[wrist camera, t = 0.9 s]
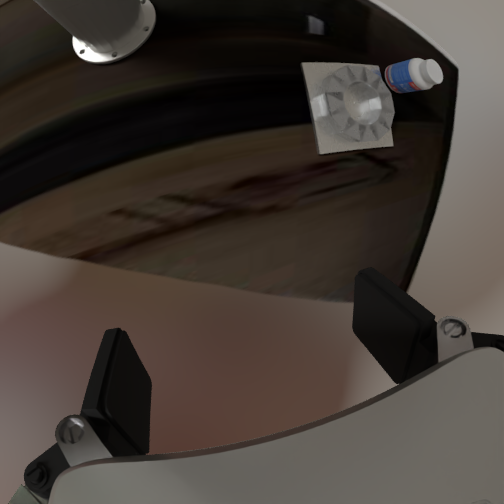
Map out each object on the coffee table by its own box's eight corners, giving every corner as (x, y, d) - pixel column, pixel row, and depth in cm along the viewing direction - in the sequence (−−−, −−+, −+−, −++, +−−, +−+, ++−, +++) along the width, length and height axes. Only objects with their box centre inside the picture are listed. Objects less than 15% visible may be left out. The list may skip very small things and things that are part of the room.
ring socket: (299, 64, 32) (309, 56, 29) (375, 66, 34) (389, 62, 30) (317, 154, 37) (329, 154, 34) (390, 145, 39) (405, 146, 36)
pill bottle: (386, 92, 36) (426, 84, 27) (380, 63, 34) (419, 51, 25) (408, 95, 36) (448, 90, 27) (403, 67, 34) (441, 58, 25)
